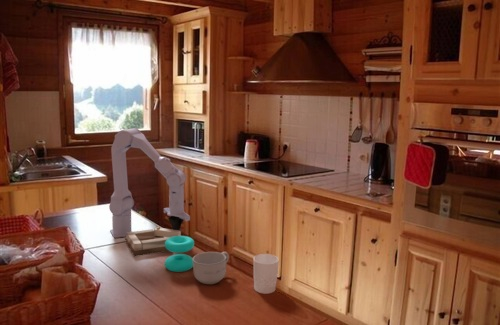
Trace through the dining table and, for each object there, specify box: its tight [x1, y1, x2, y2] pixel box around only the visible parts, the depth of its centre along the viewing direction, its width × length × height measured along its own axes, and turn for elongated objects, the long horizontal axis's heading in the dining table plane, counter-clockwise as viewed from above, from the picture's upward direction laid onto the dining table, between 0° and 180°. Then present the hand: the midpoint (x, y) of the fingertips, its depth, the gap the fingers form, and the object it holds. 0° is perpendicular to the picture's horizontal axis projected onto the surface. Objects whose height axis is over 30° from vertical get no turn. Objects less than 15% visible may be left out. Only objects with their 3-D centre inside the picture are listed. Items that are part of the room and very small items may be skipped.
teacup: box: [192, 251, 230, 285], centre depth 138 cm, size 14×11×8 cm
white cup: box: [252, 253, 280, 295], centre depth 132 cm, size 8×8×10 cm
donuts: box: [164, 235, 195, 273], centre depth 145 cm, size 10×10×10 cm
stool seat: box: [125, 228, 170, 257], centre depth 163 cm, size 14×14×4 cm
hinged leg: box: [153, 226, 182, 238], centre depth 169 cm, size 10×2×3 cm, turn 74°
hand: (176, 233), depth 170 cm, fingers closed, pressing on hinged leg
